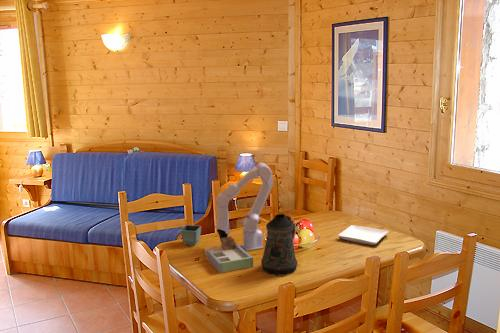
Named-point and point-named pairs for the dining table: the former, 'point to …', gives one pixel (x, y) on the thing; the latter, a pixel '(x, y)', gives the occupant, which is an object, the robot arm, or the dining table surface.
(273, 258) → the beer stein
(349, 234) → the salad plate
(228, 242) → the walnut block
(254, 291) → the dining table surface
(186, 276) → the dining table surface
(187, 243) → the flower pot
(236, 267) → the tray
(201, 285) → the dining table surface
